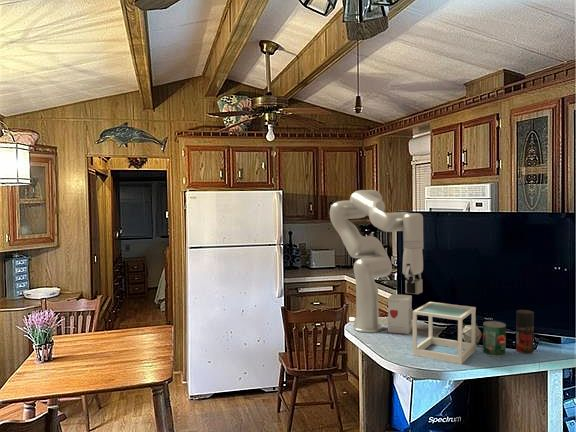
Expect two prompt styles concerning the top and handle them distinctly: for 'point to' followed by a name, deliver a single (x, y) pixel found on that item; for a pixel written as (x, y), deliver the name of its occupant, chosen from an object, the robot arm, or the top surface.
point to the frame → (461, 356)
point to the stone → (416, 286)
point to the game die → (467, 334)
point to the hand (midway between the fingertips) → (413, 291)
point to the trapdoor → (444, 310)
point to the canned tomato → (494, 338)
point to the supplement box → (400, 313)
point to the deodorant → (525, 331)
